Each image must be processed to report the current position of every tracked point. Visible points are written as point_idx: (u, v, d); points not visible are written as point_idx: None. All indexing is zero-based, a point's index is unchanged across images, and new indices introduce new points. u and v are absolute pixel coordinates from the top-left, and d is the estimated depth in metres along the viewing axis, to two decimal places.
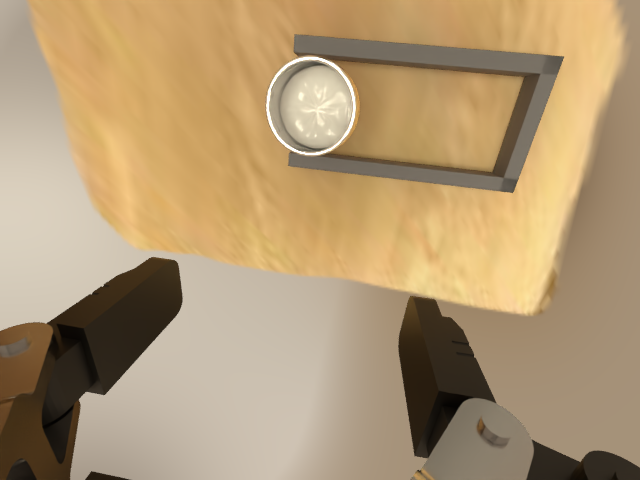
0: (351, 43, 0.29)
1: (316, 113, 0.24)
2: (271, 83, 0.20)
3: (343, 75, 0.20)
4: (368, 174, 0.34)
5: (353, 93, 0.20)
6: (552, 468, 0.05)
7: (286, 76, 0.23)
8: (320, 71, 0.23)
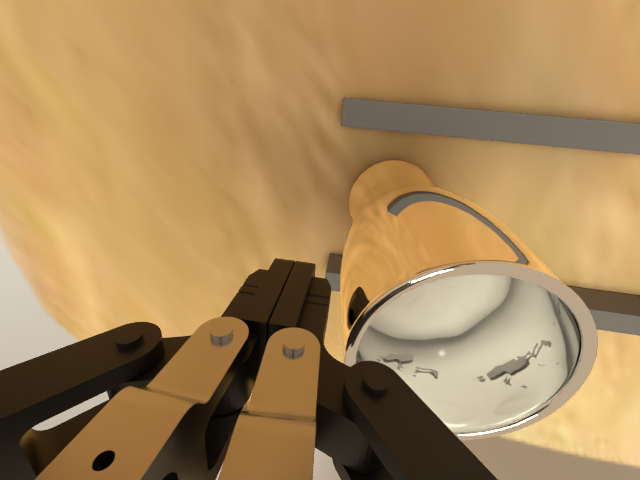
0: (446, 114, 0.16)
1: (425, 294, 0.12)
2: (368, 316, 0.08)
3: (580, 310, 0.07)
4: None
5: (595, 346, 0.07)
6: (338, 377, 0.07)
7: None
8: None
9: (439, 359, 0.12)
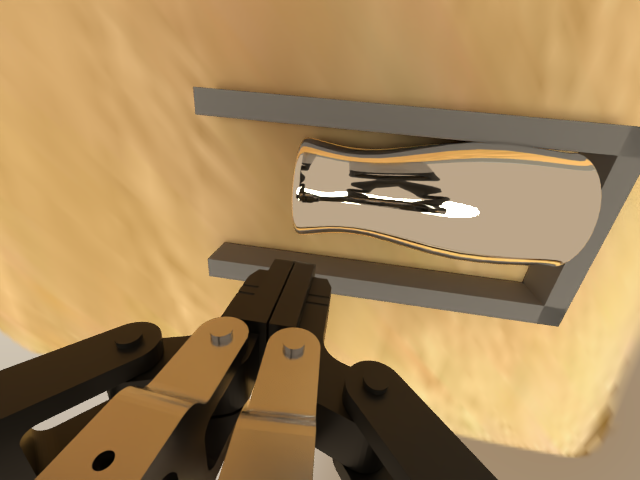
0: (288, 102, 0.17)
1: None
2: None
3: None
4: None
5: None
6: (339, 377, 0.07)
7: None
8: None
9: None
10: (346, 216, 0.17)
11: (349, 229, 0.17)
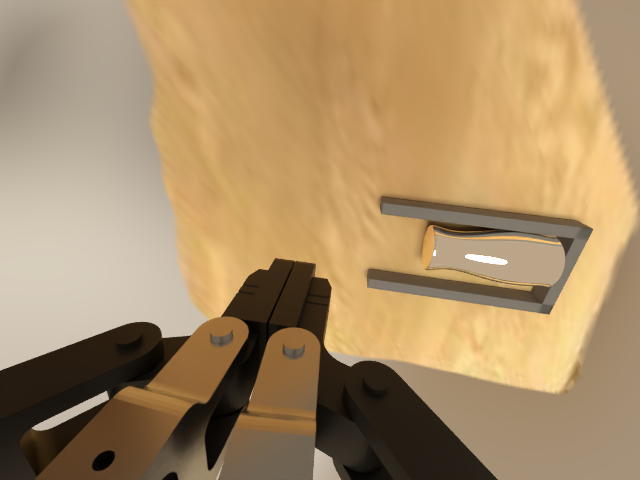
0: (427, 211, 0.38)
1: None
2: (564, 254, 0.35)
3: None
4: (432, 296, 0.42)
5: None
6: (338, 377, 0.07)
7: (535, 244, 0.35)
8: None
9: None
10: (454, 264, 0.37)
11: (453, 269, 0.38)
